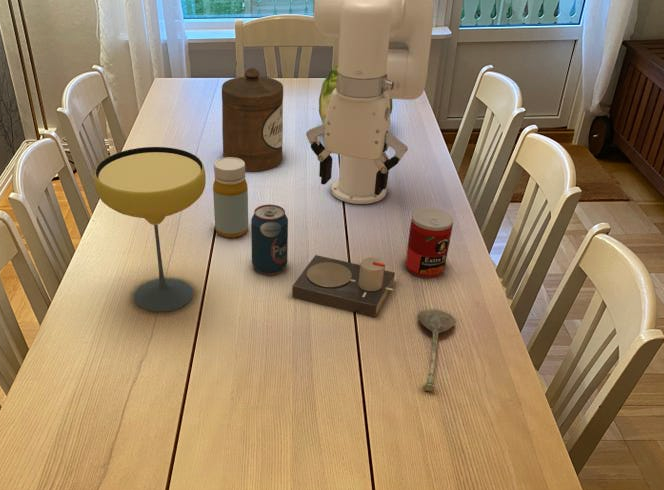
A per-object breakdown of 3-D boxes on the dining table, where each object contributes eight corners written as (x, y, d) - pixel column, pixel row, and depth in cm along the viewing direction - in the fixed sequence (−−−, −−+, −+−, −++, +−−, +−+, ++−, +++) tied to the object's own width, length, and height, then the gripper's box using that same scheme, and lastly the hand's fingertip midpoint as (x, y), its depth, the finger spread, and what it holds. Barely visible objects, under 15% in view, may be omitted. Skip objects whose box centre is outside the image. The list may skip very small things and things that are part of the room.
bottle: (244, 240, 149) (242, 172, 139) (211, 237, 150) (207, 169, 140) (251, 224, 154) (250, 158, 144) (220, 221, 155) (216, 155, 146)
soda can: (280, 279, 137) (281, 222, 130) (246, 272, 139) (245, 217, 131) (291, 261, 142) (293, 206, 135) (258, 255, 144) (258, 200, 137)
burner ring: (316, 259, 138) (316, 258, 138) (357, 269, 136) (357, 267, 135) (300, 281, 132) (300, 280, 132) (343, 292, 130) (343, 290, 129)
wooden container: (282, 172, 174) (283, 79, 160) (221, 171, 174) (217, 79, 161) (282, 147, 186) (283, 59, 172) (225, 147, 186) (221, 58, 172)
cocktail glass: (124, 268, 140) (106, 145, 124) (216, 270, 140) (210, 146, 124) (105, 323, 126) (81, 192, 110) (207, 325, 126) (198, 194, 110)
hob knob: (355, 288, 130) (357, 265, 127) (362, 276, 134) (364, 253, 131) (378, 293, 129) (381, 270, 126) (385, 281, 132) (388, 258, 129)
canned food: (421, 282, 137) (429, 231, 130) (396, 262, 142) (403, 212, 135) (453, 272, 139) (462, 221, 133) (427, 253, 145) (436, 203, 138)
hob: (292, 297, 133) (292, 285, 131) (314, 265, 141) (315, 253, 140) (382, 319, 127) (383, 306, 126) (400, 285, 136) (402, 273, 134)
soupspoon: (455, 319, 129) (418, 315, 130) (457, 303, 127) (420, 299, 128) (448, 395, 112) (406, 389, 113) (451, 378, 110) (407, 372, 111)
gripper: (420, 85, 112) (407, 187, 123) (318, 70, 118) (313, 169, 129) (407, 99, 107) (394, 205, 117) (300, 83, 113) (297, 185, 123)
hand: (352, 186), depth 123 cm, fingers open, 9 cm apart
